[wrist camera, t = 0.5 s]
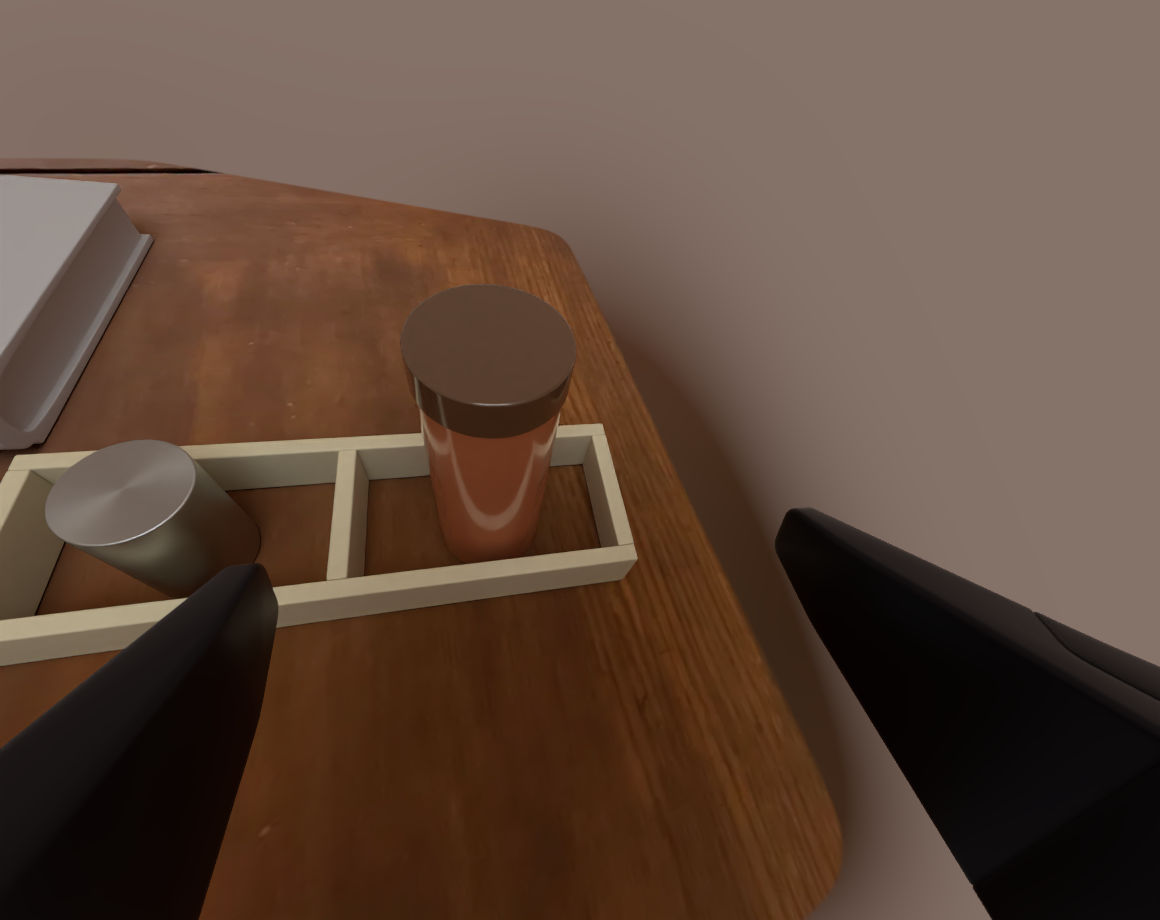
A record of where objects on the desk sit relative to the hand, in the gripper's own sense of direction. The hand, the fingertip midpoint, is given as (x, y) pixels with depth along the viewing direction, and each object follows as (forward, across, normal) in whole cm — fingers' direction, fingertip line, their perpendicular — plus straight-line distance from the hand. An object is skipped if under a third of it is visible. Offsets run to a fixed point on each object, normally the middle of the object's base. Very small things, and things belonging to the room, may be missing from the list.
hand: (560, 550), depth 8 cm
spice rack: (+14, +7, +11) cm, 19 cm away
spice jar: (+14, 0, +11) cm, 17 cm away
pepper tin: (+14, +13, +11) cm, 22 cm away
